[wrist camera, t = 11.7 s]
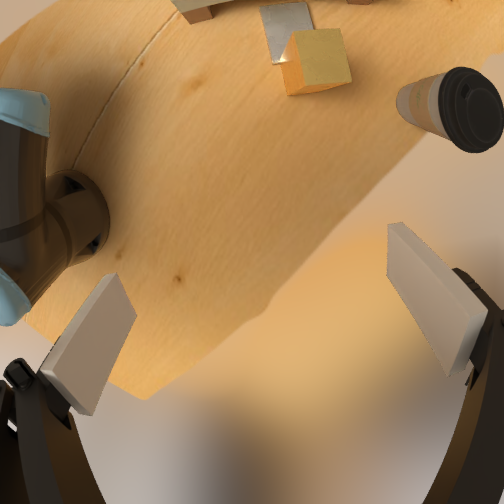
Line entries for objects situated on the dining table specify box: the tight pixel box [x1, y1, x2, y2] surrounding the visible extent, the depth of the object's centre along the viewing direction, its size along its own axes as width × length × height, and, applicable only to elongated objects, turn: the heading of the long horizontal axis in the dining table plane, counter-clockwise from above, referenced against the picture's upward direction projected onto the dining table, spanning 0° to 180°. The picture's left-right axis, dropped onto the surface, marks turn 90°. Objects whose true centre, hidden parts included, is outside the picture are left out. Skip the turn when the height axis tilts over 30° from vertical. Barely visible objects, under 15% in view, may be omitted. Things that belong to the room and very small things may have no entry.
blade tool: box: [259, 2, 352, 96], centre depth 23 cm, size 6×13×14 cm, turn 11°
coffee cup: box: [396, 67, 504, 153], centre depth 25 cm, size 9×9×15 cm
